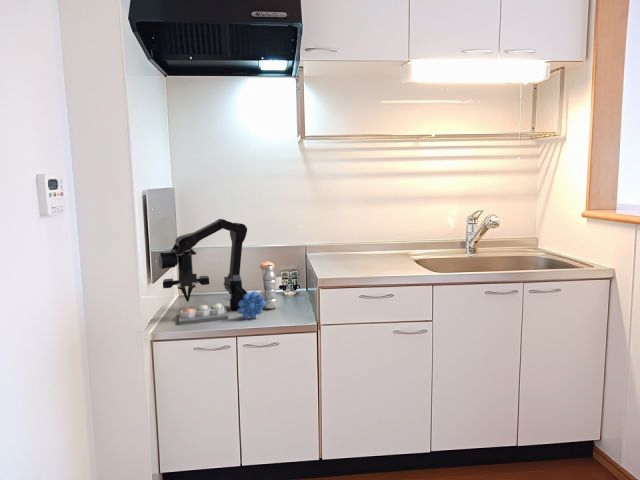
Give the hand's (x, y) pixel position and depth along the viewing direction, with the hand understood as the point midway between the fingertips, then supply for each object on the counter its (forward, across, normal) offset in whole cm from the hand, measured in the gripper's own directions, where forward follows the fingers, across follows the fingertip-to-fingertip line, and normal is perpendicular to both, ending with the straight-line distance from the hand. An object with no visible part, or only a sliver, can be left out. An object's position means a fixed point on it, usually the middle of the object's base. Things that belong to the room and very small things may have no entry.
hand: (187, 301), depth 186 cm
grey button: (+5, +6, 0) cm, 8 cm away
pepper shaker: (+8, +38, +18) cm, 43 cm away
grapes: (+8, +26, -9) cm, 29 cm away
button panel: (+8, +6, 0) cm, 10 cm away
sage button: (+5, +12, 0) cm, 13 cm away
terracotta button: (+6, 0, 0) cm, 6 cm away
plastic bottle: (+8, +36, +2) cm, 37 cm away
